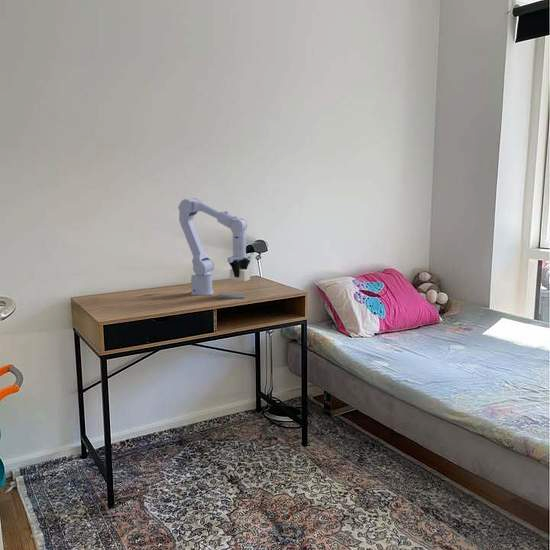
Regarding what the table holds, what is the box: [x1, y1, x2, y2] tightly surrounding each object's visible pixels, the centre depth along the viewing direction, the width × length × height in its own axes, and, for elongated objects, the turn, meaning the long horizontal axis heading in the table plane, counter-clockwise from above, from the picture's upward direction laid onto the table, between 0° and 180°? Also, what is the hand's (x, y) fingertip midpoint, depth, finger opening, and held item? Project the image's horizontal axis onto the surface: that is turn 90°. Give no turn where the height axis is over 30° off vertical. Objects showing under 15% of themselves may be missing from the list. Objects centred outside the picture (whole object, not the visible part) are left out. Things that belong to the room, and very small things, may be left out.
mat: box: [216, 292, 247, 299], centre depth 246 cm, size 12×9×1 cm
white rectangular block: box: [229, 268, 251, 282], centre depth 246 cm, size 4×8×4 cm, turn 55°
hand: (240, 276), depth 246 cm, fingers closed on white rectangular block, 4 cm apart
